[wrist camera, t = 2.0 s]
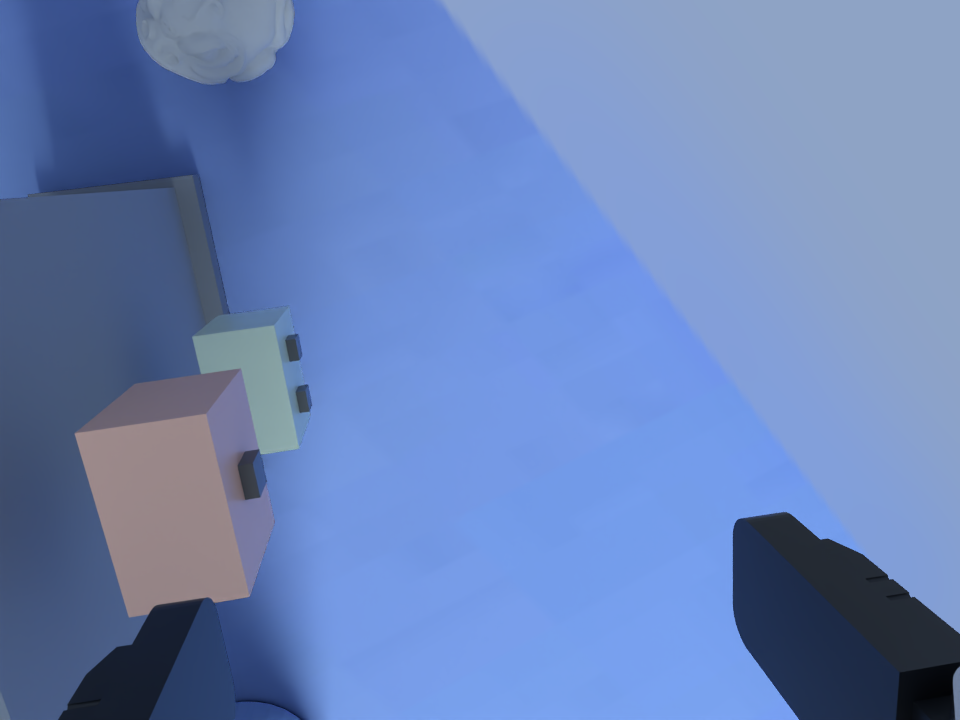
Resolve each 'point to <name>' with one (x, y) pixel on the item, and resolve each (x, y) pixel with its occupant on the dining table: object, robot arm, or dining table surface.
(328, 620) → the dining table surface
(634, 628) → the dining table surface
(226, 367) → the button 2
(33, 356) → the large grey rectangular box
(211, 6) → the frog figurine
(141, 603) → the pink rectangular block
